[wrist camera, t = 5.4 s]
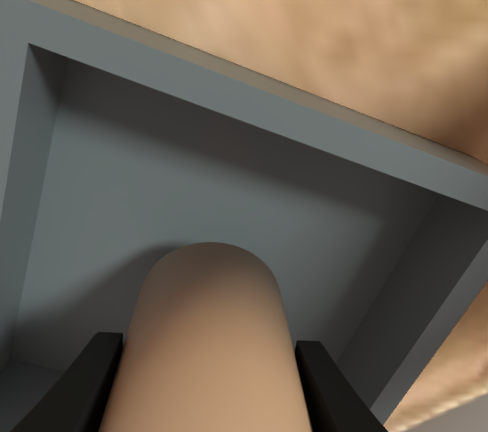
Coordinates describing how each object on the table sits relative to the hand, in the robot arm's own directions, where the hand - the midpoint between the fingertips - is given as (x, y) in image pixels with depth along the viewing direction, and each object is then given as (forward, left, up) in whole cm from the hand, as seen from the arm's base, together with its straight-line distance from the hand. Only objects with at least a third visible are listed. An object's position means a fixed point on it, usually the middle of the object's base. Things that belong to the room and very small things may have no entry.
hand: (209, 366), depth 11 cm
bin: (0, 0, -5) cm, 5 cm away
